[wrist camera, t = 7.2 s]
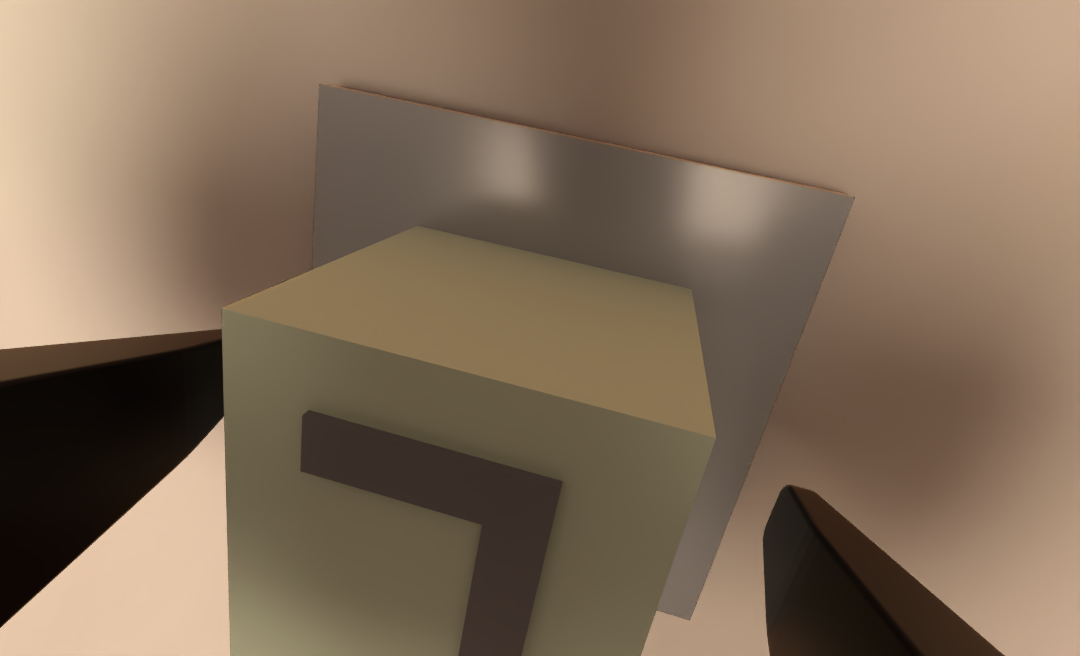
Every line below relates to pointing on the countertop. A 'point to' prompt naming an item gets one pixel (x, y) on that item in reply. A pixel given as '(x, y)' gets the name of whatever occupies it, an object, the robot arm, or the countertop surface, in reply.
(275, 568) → the letter cube
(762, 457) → the countertop surface
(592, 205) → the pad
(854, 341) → the countertop surface
